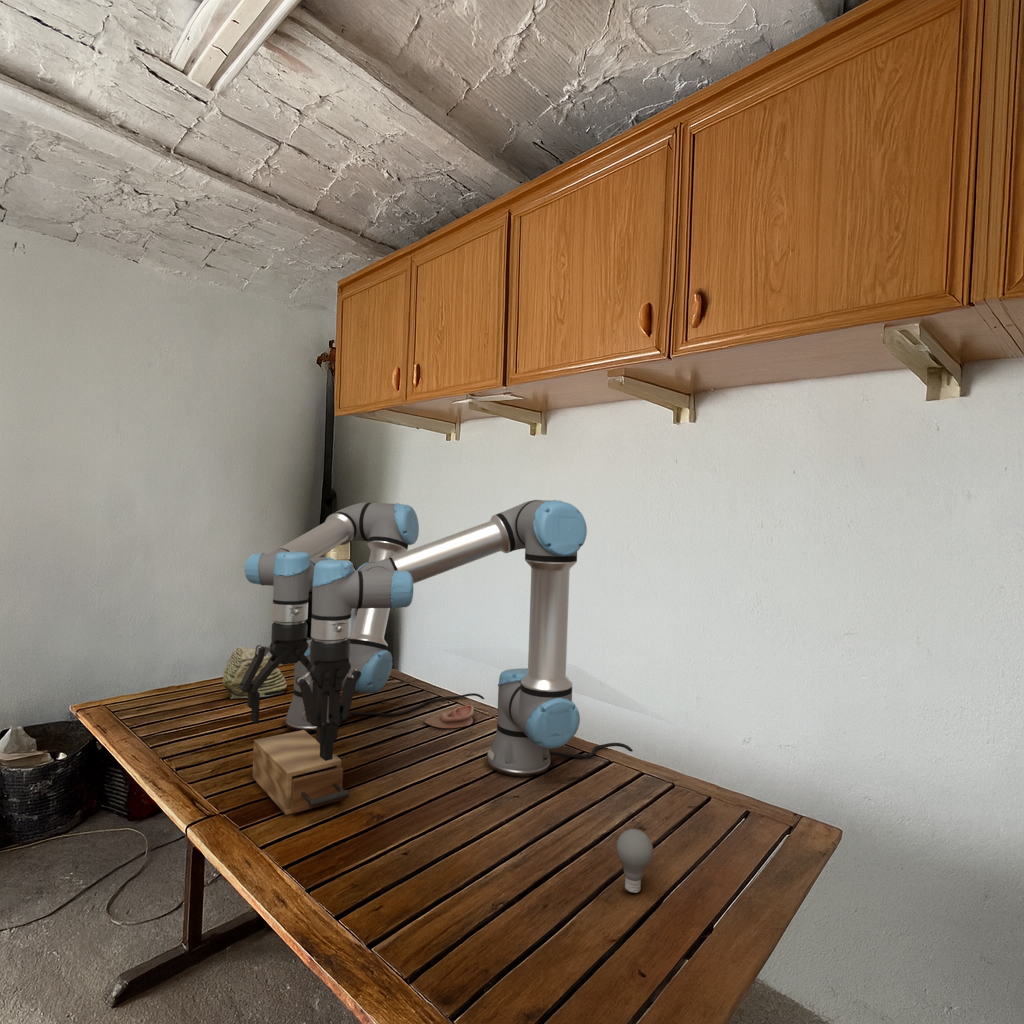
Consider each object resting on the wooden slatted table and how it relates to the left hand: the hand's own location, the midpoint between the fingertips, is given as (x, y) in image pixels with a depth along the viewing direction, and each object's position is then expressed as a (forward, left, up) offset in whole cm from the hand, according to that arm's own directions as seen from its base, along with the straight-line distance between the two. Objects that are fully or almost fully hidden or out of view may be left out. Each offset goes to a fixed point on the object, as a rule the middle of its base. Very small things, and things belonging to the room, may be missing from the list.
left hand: (286, 716), depth 142 cm
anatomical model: (-52, +1, -14) cm, 53 cm away
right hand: (+4, +21, -2) cm, 22 cm away
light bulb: (-16, +78, -14) cm, 81 cm away
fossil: (-25, -58, -14) cm, 65 cm away
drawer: (+2, +12, -13) cm, 18 cm away
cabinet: (+1, +6, -14) cm, 15 cm away
